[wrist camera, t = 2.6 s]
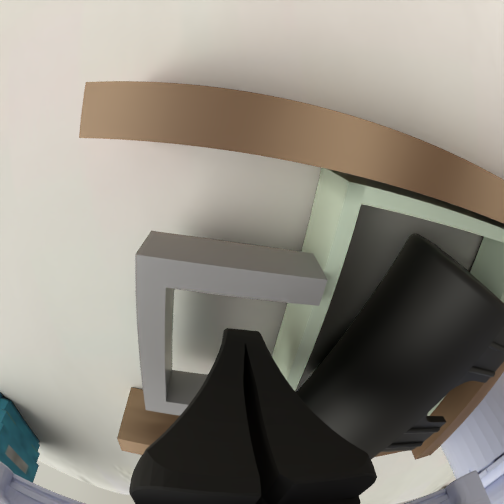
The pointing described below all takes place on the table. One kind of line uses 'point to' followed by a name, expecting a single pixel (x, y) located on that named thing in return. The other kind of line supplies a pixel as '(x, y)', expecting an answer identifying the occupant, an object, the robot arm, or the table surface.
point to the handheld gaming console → (17, 442)
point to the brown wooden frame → (297, 150)
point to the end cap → (408, 352)
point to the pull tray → (279, 277)
